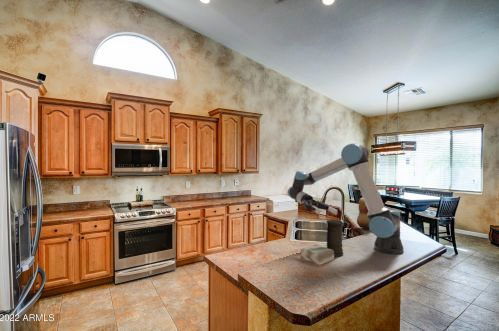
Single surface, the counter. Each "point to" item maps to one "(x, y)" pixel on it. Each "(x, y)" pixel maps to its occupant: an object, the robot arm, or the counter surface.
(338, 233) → the container
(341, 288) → the counter surface
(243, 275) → the counter surface
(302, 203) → the robot arm
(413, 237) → the counter surface
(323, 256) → the stand
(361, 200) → the butternut squash
